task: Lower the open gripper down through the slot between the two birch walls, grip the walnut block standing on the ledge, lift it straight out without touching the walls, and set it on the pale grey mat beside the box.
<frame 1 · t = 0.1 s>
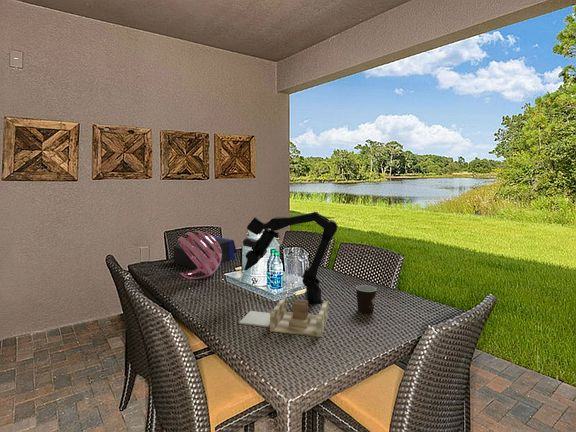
hand: (247, 267, 164), 15 cm above the table, tool tilted 35°, fingers open, 9 cm apart
walnut block: (300, 316, 136), point 3 cm above the table, touching slot box
grey mat: (258, 319, 140), on the table
slot box: (300, 324, 136), on the table
headphone box: (206, 261, 238), on the table
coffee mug: (368, 310, 150), on the table
spiral basket: (201, 276, 202), on the table
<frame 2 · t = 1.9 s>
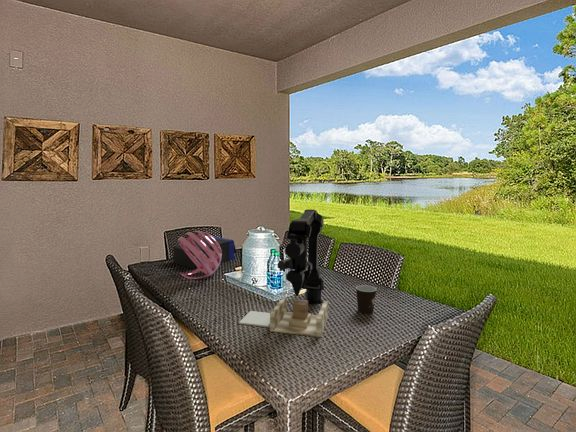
hand: (299, 292, 134), 13 cm above the table, tool pointing down, fingers open, 9 cm apart
nothing on the table moved.
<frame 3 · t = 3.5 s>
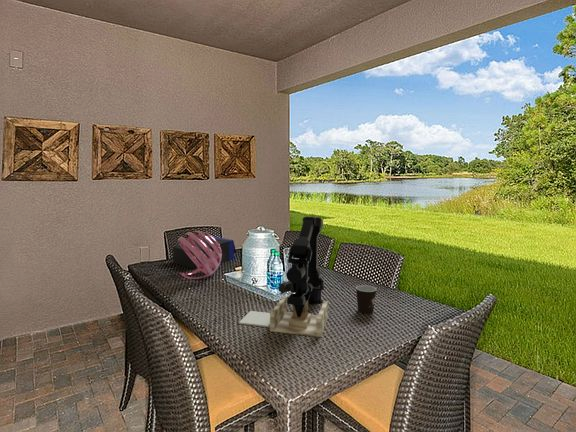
hand: (300, 314, 135), 4 cm above the table, tool pointing down, fingers closed on walnut block, 5 cm apart
walnut block: (300, 316, 136), point 3 cm above the table, touching gripper, slot box
everything else where it was.
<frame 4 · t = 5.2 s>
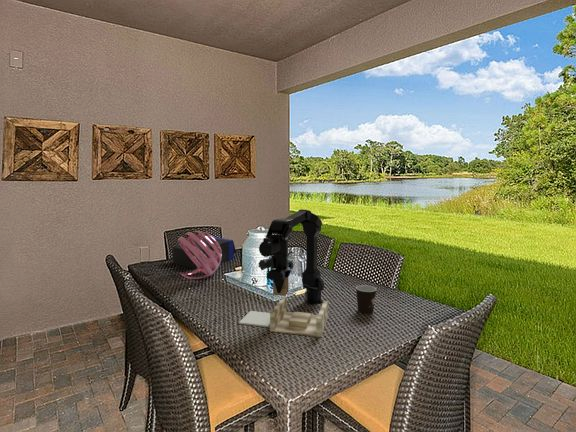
hand: (280, 290, 136), 13 cm above the table, tool pointing down, fingers closed on walnut block, 5 cm apart
walnut block: (280, 293, 136), point 12 cm above the table, touching gripper
everything else where it was.
when the fingers open (3 cm above the table, at t = 7.1 s): walnut block drops 1 cm, resting on grey mat.
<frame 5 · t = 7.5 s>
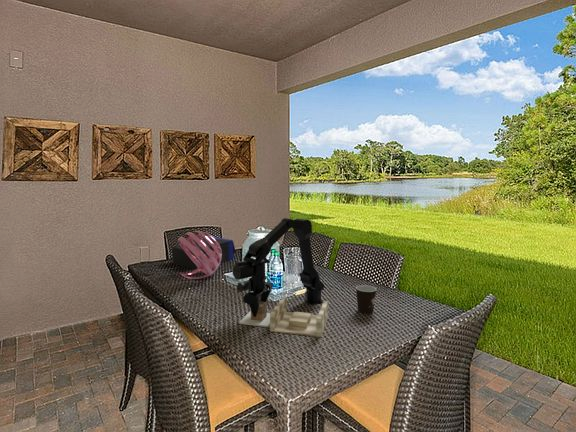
hand: (258, 312, 140), 3 cm above the table, tool pointing down, fingers open, 9 cm apart
walnut block: (258, 317, 140), point 1 cm above the table, touching grey mat
everything else where it was.
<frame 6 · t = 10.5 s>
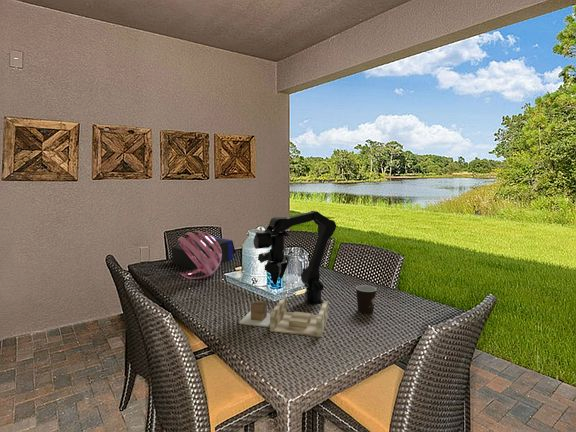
hand: (278, 281, 151), 12 cm above the table, tool pointing down, fingers open, 9 cm apart
at the end: walnut block inside the target area on the grey mat (0.1 cm from its centre), point 0.6 cm above the grey mat's base; walnut block tilted 0°; walnut block touching grey mat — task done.
